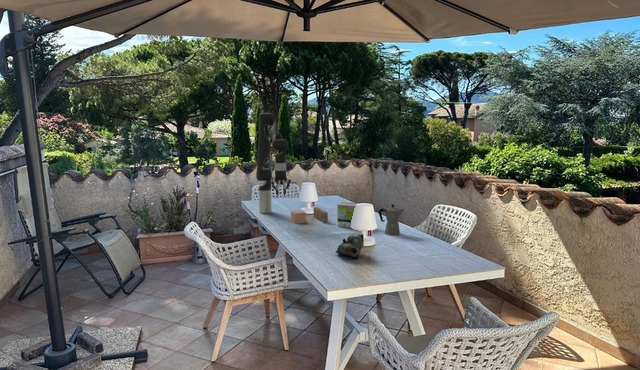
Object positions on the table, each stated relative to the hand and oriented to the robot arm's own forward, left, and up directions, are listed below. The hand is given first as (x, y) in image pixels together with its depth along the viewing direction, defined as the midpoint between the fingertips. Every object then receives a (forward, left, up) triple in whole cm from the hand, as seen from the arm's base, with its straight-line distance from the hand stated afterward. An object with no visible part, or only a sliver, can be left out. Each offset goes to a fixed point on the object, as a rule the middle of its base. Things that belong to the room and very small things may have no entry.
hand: (281, 195), depth 286 cm
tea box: (+24, +40, -20) cm, 51 cm away
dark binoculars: (+81, +14, -20) cm, 84 cm away
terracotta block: (0, +12, -19) cm, 23 cm away
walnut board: (0, +28, -19) cm, 34 cm away
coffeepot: (+50, +55, -19) cm, 77 cm away
